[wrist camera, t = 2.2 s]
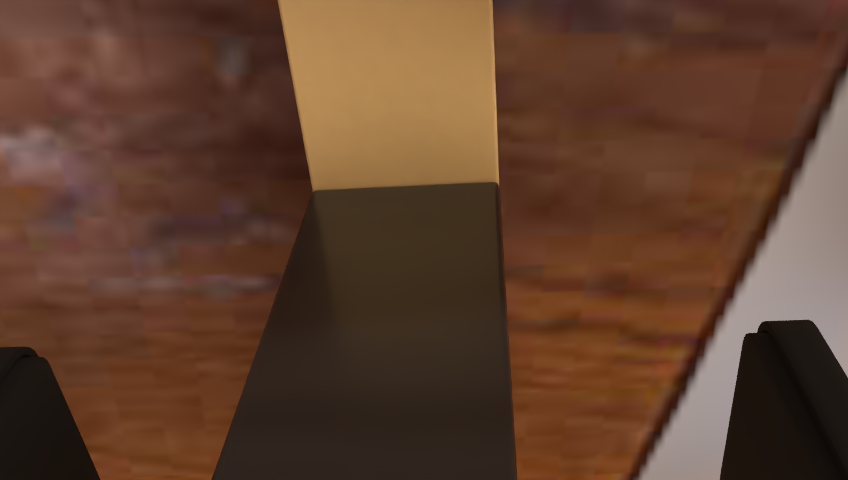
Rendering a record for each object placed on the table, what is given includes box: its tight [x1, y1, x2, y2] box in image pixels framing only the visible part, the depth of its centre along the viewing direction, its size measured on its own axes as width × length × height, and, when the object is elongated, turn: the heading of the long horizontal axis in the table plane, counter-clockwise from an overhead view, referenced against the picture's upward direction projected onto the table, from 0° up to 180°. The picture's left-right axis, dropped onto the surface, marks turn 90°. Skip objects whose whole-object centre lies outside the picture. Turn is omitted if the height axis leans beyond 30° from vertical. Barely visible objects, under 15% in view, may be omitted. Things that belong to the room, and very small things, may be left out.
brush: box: [212, 0, 517, 480], centre depth 11 cm, size 12×3×10 cm, turn 5°
